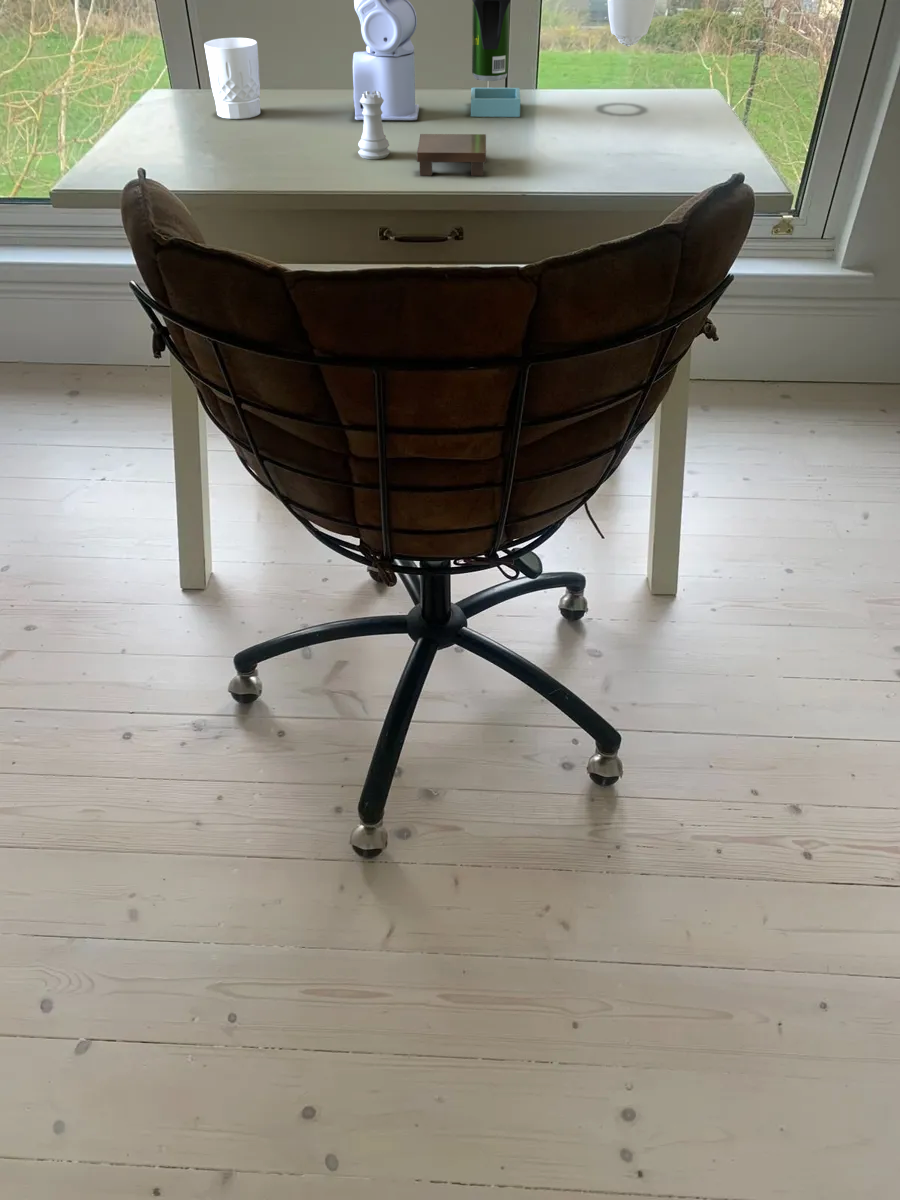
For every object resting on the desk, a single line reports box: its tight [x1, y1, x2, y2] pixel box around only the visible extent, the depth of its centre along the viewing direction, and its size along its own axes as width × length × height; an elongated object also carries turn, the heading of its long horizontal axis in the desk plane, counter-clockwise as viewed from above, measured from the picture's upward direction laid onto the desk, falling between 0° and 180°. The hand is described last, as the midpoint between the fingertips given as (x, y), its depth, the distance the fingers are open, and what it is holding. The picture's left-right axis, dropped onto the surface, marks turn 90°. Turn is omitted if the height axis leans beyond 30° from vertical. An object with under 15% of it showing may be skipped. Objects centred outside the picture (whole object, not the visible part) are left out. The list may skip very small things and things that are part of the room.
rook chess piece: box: [357, 91, 391, 160], centre depth 144 cm, size 4×4×8 cm
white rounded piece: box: [607, 0, 658, 47], centre depth 160 cm, size 7×7×21 cm
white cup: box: [203, 37, 261, 120], centre depth 161 cm, size 8×8×10 cm
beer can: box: [471, 1, 511, 82], centre depth 154 cm, size 5×5×12 cm
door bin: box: [470, 87, 521, 118], centre depth 165 cm, size 8×8×2 cm
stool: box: [416, 133, 487, 177], centre depth 141 cm, size 9×9×3 cm
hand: (490, 44), depth 155 cm, fingers closed on beer can, 5 cm apart
